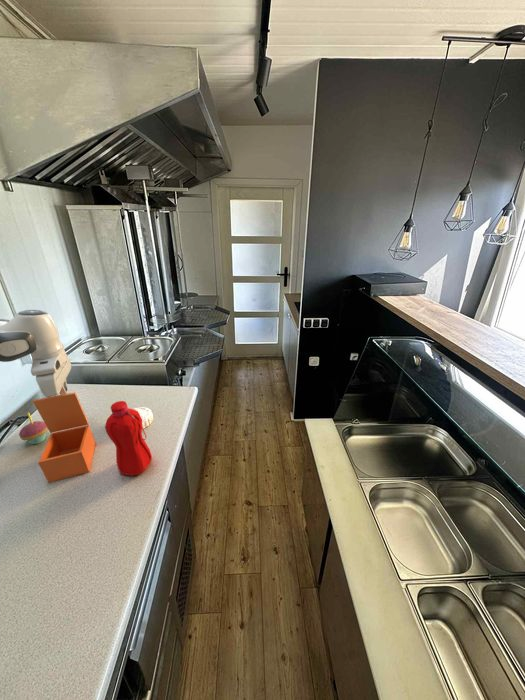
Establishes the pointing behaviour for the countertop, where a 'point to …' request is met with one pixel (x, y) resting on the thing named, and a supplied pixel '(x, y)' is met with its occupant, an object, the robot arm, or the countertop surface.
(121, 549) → the countertop surface
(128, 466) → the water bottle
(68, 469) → the box
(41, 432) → the cupcake
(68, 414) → the box lid
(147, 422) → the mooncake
